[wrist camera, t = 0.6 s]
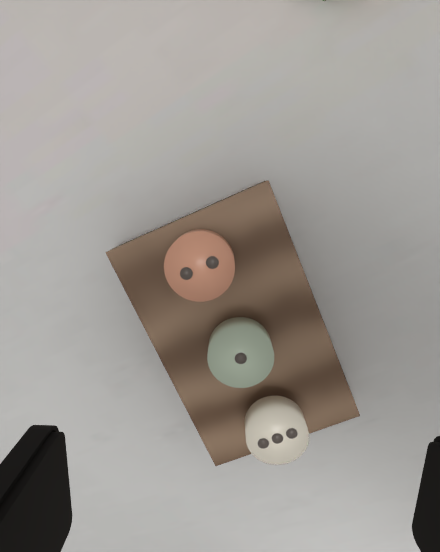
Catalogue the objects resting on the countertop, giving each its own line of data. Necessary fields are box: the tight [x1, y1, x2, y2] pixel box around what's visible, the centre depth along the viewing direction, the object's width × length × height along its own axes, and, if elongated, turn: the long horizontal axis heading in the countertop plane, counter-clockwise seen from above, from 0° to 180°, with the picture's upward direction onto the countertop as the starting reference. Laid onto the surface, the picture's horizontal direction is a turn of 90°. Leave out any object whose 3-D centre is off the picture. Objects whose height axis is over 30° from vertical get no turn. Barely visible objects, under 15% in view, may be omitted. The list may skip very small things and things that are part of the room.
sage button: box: [207, 317, 274, 388], centre depth 27 cm, size 5×5×2 cm
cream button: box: [245, 396, 309, 465], centre depth 29 cm, size 5×5×2 cm
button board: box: [106, 181, 360, 466], centre depth 31 cm, size 22×14×3 cm, turn 24°
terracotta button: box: [164, 229, 235, 302], centre depth 26 cm, size 5×5×2 cm
